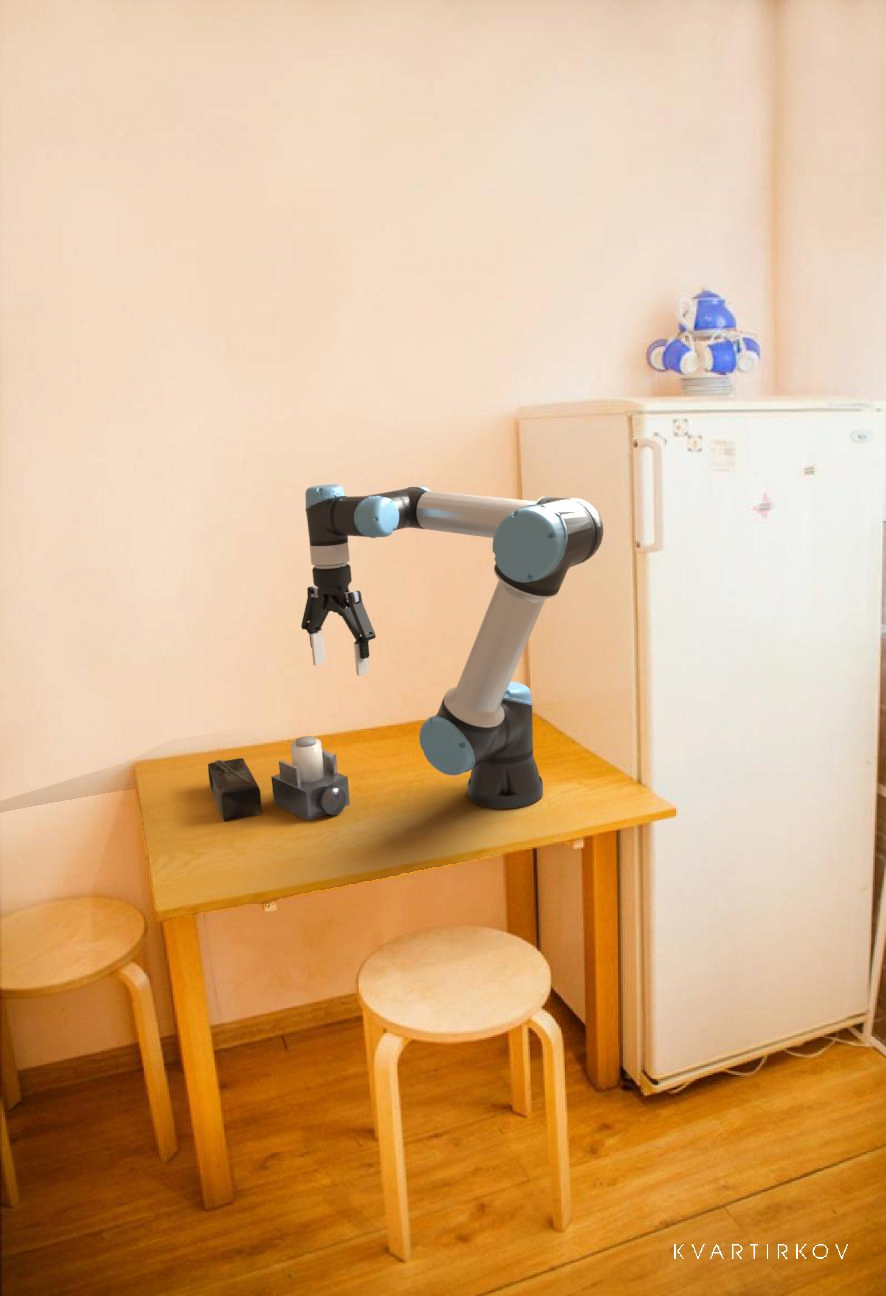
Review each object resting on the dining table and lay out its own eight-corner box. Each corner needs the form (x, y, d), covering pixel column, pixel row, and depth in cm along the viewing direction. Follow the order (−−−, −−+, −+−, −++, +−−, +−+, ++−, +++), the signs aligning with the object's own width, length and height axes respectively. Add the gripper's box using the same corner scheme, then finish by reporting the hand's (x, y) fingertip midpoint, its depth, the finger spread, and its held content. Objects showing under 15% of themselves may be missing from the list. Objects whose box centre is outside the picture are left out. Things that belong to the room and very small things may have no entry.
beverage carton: (247, 782, 212) (244, 753, 210) (264, 816, 194) (261, 785, 193) (209, 789, 209) (206, 760, 207) (223, 824, 192) (220, 793, 190)
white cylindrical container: (330, 775, 196) (326, 738, 194) (305, 785, 192) (302, 747, 190) (311, 768, 201) (308, 732, 199) (287, 777, 197) (284, 740, 195)
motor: (357, 807, 195) (353, 760, 193) (316, 824, 189) (311, 776, 186) (314, 789, 206) (310, 744, 203) (274, 804, 199) (269, 758, 196)
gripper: (388, 566, 188) (396, 673, 193) (306, 557, 205) (316, 655, 210) (358, 573, 183) (367, 682, 188) (277, 563, 200) (288, 664, 205)
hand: (340, 668), depth 199 cm, fingers open, 13 cm apart
